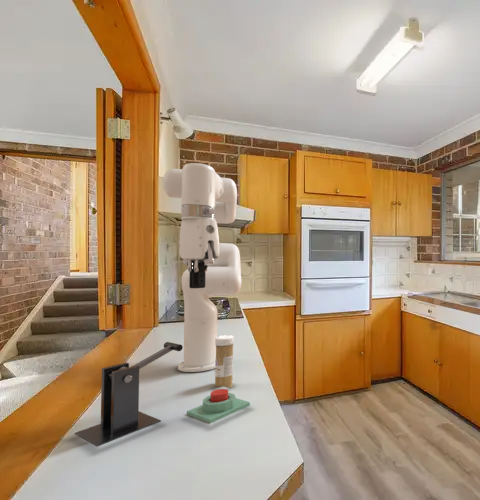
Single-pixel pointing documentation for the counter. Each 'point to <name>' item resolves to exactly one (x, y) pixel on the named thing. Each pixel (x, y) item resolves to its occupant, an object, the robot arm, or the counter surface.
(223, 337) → the sprinkles bottle
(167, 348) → the lever handle
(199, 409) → the control block
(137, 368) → the lever bracket
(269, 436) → the counter surface
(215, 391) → the button
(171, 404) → the counter surface
